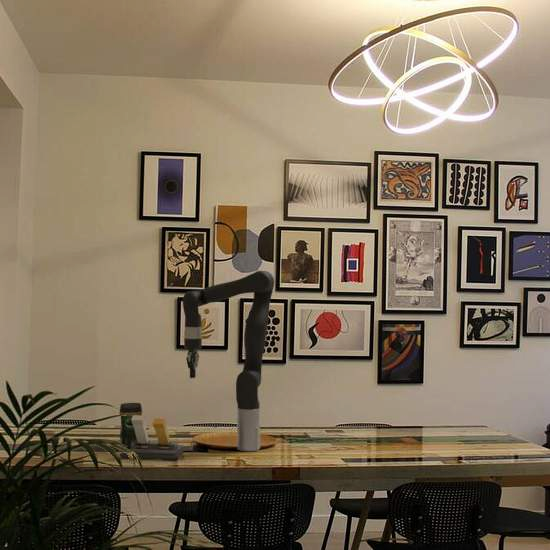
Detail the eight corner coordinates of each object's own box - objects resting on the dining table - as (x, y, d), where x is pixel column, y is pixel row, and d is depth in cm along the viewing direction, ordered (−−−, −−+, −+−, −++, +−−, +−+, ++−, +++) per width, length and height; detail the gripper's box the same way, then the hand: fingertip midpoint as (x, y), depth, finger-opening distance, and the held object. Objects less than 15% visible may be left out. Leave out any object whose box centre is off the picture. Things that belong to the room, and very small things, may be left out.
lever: (150, 442, 316) (143, 415, 308) (148, 447, 314) (142, 420, 305) (139, 442, 317) (133, 415, 308) (138, 447, 315) (131, 419, 306)
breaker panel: (183, 452, 318) (183, 440, 318) (175, 458, 307) (175, 446, 307) (136, 450, 321) (136, 438, 321) (126, 456, 310) (127, 444, 310)
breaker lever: (171, 443, 315) (164, 418, 305) (170, 448, 313) (163, 424, 303) (161, 442, 315) (154, 418, 306) (159, 448, 314) (152, 423, 304)
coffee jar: (141, 444, 334) (141, 401, 334) (142, 448, 326) (143, 403, 327) (118, 445, 332) (119, 401, 332) (119, 449, 324) (119, 404, 324)
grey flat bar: (179, 459, 305) (179, 450, 305) (178, 461, 303) (178, 451, 303) (120, 457, 308) (120, 448, 308) (118, 458, 306) (118, 449, 306)
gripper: (197, 338, 326) (197, 379, 325) (205, 336, 339) (204, 376, 339) (180, 338, 327) (180, 379, 327) (188, 336, 340) (188, 375, 340)
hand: (192, 377), depth 333 cm, fingers closed
